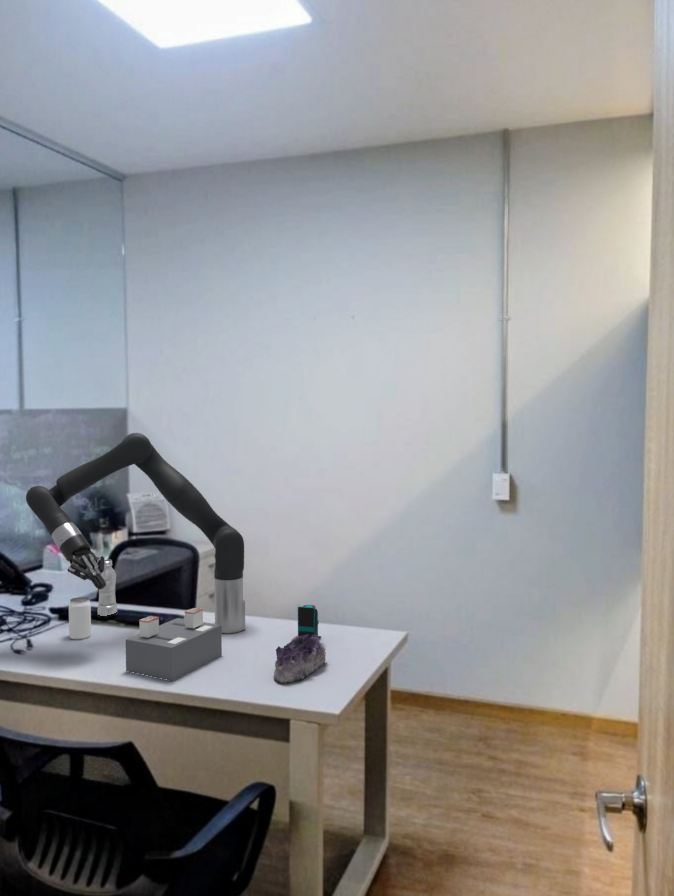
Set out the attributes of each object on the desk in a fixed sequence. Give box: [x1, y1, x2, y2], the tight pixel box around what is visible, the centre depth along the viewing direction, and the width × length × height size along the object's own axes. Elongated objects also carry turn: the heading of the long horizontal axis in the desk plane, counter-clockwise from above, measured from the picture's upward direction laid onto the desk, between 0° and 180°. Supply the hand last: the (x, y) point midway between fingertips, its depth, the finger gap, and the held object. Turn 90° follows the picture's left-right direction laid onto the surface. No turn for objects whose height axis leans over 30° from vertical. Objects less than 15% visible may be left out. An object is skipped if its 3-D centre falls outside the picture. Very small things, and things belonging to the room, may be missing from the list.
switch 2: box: [184, 607, 204, 628], centre depth 202 cm, size 3×4×4 cm
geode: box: [273, 634, 327, 685], centre depth 191 cm, size 20×12×10 cm, turn 160°
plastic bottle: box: [97, 558, 118, 616], centre depth 241 cm, size 6×7×20 cm
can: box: [68, 596, 92, 641], centre depth 221 cm, size 6×6×12 cm
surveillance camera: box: [297, 604, 322, 639], centre depth 216 cm, size 6×12×10 cm
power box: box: [125, 617, 223, 682], centre depth 197 cm, size 16×22×9 cm
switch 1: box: [138, 615, 160, 638], centre depth 194 cm, size 3×4×4 cm
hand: (102, 587), depth 201 cm, fingers closed
